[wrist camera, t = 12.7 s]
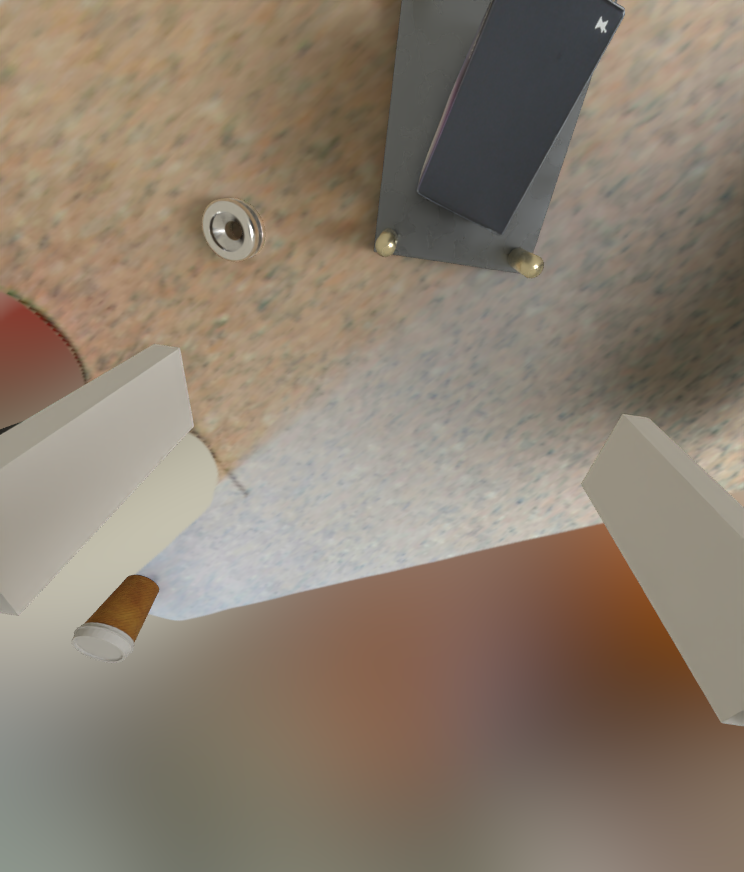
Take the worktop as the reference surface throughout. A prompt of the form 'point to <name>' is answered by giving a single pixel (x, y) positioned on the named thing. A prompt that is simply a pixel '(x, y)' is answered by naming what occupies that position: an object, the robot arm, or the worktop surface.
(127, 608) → the disposable coffee cup
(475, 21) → the chassis
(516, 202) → the small box
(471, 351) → the worktop surface
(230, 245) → the metal grooved wheel
